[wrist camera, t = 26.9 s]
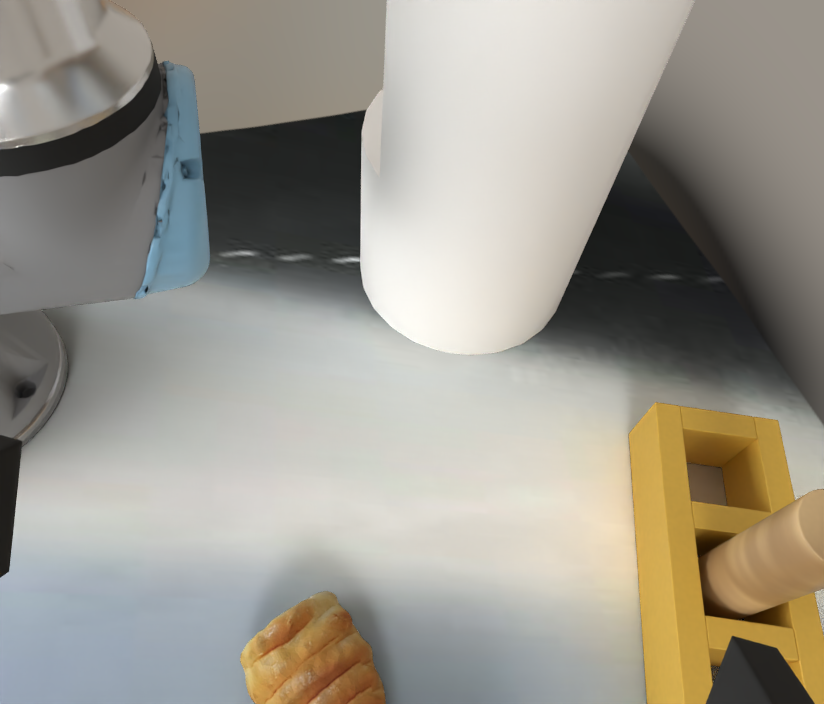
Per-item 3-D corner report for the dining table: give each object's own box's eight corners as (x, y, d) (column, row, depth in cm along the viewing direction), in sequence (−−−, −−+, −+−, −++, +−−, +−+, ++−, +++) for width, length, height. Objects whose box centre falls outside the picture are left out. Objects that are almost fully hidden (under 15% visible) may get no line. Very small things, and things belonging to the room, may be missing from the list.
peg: (659, 584, 42) (779, 515, 30) (701, 551, 43) (832, 473, 31) (704, 641, 40) (851, 591, 28) (746, 605, 41) (903, 543, 29)
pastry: (420, 722, 36) (426, 719, 33) (321, 813, 34) (317, 820, 31) (326, 586, 40) (323, 571, 37) (230, 659, 37) (218, 650, 34)
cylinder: (603, 302, 54) (796, -54, 30) (431, 390, 48) (505, 36, 24) (485, 174, 61) (567, -192, 38) (324, 238, 55) (300, -148, 32)
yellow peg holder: (652, 786, 36) (692, 790, 31) (628, 433, 47) (655, 401, 43) (802, 808, 35) (862, 815, 31) (740, 449, 47) (778, 419, 43)
